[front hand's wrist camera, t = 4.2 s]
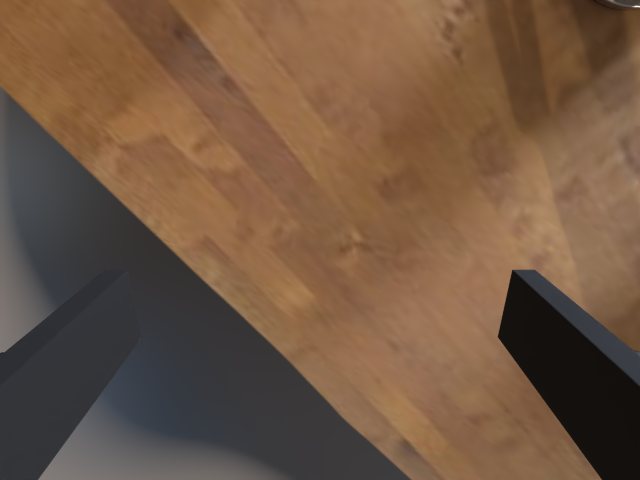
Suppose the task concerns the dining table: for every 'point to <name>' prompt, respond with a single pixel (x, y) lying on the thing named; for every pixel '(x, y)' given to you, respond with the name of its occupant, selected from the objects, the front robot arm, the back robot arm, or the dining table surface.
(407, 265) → the dining table surface
